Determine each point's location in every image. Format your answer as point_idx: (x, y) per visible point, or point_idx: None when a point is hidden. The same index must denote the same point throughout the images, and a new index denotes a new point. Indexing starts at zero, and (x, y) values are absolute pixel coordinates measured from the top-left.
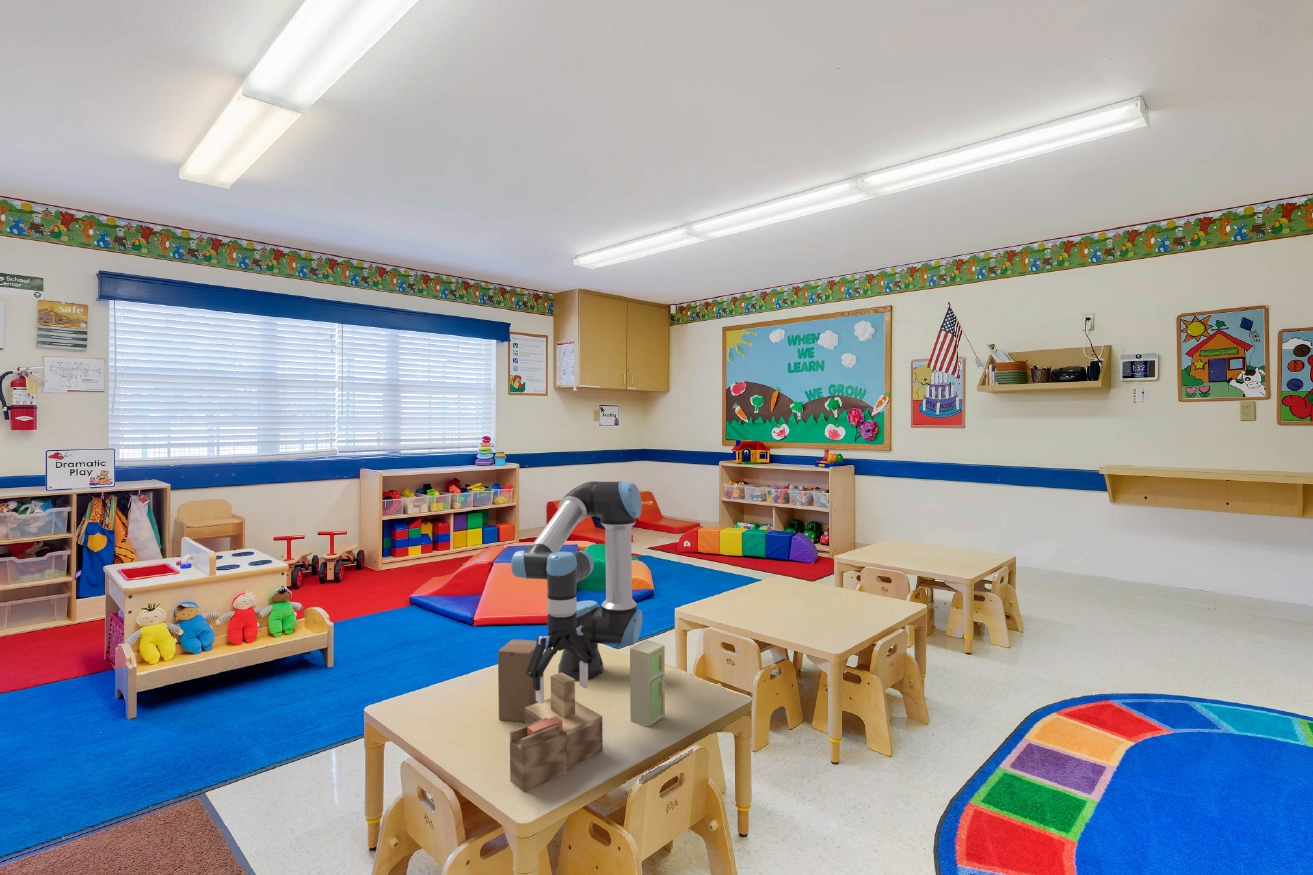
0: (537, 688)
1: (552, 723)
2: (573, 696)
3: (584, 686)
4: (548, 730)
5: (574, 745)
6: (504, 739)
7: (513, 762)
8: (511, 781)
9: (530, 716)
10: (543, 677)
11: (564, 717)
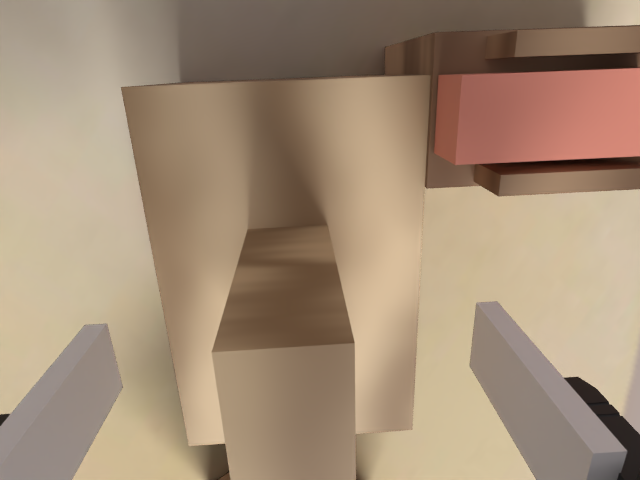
0: (581, 390)
1: (536, 84)
2: (248, 273)
3: (105, 342)
4: (602, 28)
5: (336, 77)
6: (423, 383)
7: None
8: None
9: None
10: (593, 455)
11: (323, 225)
